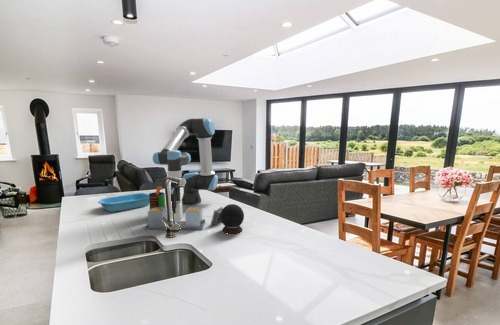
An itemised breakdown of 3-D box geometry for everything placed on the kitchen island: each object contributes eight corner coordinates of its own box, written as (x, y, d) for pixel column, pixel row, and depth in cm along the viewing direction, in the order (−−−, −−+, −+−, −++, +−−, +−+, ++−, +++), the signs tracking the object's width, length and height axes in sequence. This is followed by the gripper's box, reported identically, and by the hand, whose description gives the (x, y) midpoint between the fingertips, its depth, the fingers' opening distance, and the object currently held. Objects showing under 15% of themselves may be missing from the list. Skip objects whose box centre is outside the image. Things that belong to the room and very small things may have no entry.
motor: (146, 218, 166) (145, 187, 164) (156, 214, 175) (154, 185, 172) (160, 220, 163) (158, 189, 161) (169, 216, 171) (167, 186, 169)
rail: (152, 223, 158) (151, 205, 157) (205, 222, 159) (204, 205, 158) (145, 229, 148) (144, 211, 146) (202, 229, 148) (201, 211, 147)
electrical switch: (218, 219, 165) (219, 205, 163) (225, 221, 163) (226, 207, 161) (210, 224, 156) (211, 209, 155) (218, 226, 154) (219, 211, 153)
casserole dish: (145, 199, 214) (144, 191, 213) (157, 204, 198) (157, 195, 198) (94, 208, 188) (93, 199, 187) (104, 216, 172) (103, 205, 172)
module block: (172, 217, 155) (171, 200, 154) (182, 217, 155) (181, 200, 154) (169, 220, 150) (168, 202, 149) (180, 220, 150) (179, 202, 149)
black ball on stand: (215, 230, 147) (215, 204, 145) (233, 224, 156) (233, 200, 154) (231, 237, 137) (230, 209, 136) (248, 230, 147) (248, 204, 145)
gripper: (172, 174, 159) (173, 212, 162) (163, 180, 141) (164, 222, 143) (185, 174, 159) (186, 212, 162) (177, 180, 141) (178, 222, 143)
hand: (176, 216), depth 152 cm, fingers closed on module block, 6 cm apart
